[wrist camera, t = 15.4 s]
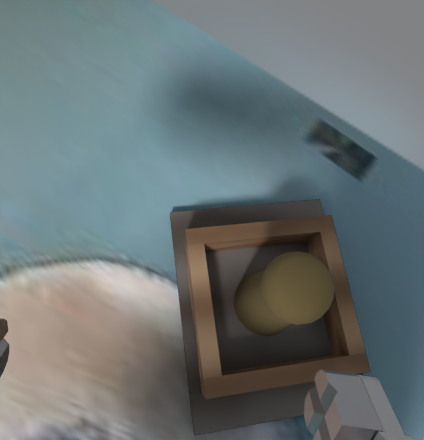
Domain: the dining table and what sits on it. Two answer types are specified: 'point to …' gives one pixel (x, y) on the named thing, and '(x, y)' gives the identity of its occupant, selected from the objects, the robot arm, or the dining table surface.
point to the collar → (237, 333)
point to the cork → (284, 294)
